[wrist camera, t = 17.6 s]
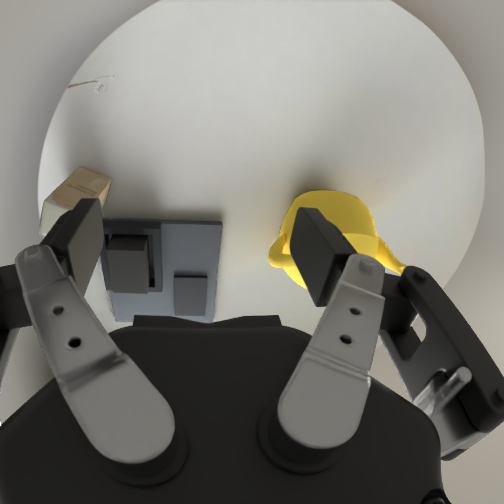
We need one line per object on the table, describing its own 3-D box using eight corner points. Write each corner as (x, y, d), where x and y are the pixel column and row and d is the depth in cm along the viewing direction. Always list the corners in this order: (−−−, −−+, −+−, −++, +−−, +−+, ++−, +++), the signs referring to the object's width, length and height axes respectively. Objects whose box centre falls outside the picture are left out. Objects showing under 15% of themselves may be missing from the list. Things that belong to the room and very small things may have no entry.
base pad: (116, 317, 47) (113, 330, 45) (100, 216, 37) (95, 227, 35) (212, 319, 51) (213, 332, 49) (222, 219, 41) (224, 230, 39)
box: (113, 178, 35) (87, 217, 26) (104, 206, 37) (79, 251, 27) (78, 165, 33) (42, 200, 24) (70, 193, 34) (37, 235, 25)
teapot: (361, 261, 50) (396, 310, 40) (247, 260, 45) (264, 319, 35) (386, 190, 43) (434, 230, 33) (262, 174, 38) (288, 217, 28)
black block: (118, 273, 42) (112, 292, 38) (113, 231, 38) (105, 249, 34) (150, 274, 43) (147, 294, 39) (148, 232, 39) (144, 250, 35)
